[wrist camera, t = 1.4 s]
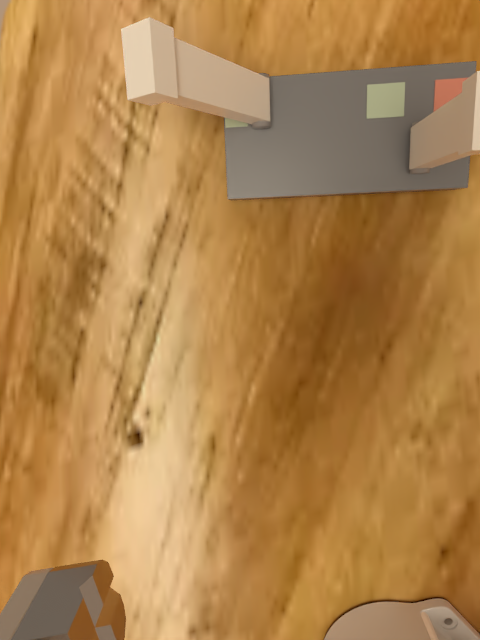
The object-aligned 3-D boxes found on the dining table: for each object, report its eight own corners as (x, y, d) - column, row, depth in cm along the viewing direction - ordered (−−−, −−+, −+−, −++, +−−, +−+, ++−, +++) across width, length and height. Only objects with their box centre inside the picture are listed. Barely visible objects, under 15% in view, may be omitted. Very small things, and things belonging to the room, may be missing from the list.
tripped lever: (431, 173, 35) (518, 147, 22) (402, 174, 35) (471, 150, 22) (434, 123, 34) (525, 67, 21) (404, 125, 34) (477, 71, 21)
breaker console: (453, 189, 38) (468, 187, 35) (231, 200, 40) (227, 199, 37) (460, 73, 36) (476, 60, 33) (226, 90, 38) (222, 79, 35)
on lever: (278, 126, 34) (155, 92, 24) (254, 130, 36) (127, 100, 25) (277, 75, 34) (149, 17, 23) (252, 81, 35) (121, 28, 24)
